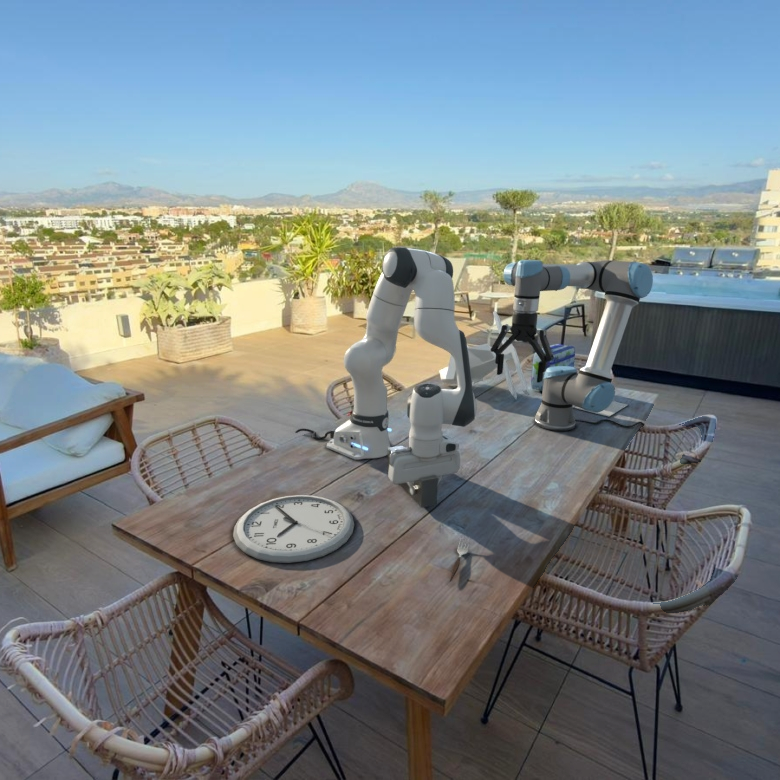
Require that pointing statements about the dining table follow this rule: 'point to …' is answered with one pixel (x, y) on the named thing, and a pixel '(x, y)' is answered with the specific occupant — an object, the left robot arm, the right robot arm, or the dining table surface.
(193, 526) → the dining table surface
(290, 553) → the wall clock
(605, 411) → the invitation card
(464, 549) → the fork
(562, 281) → the right robot arm
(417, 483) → the bar
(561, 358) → the lunch box
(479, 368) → the white plastic object
